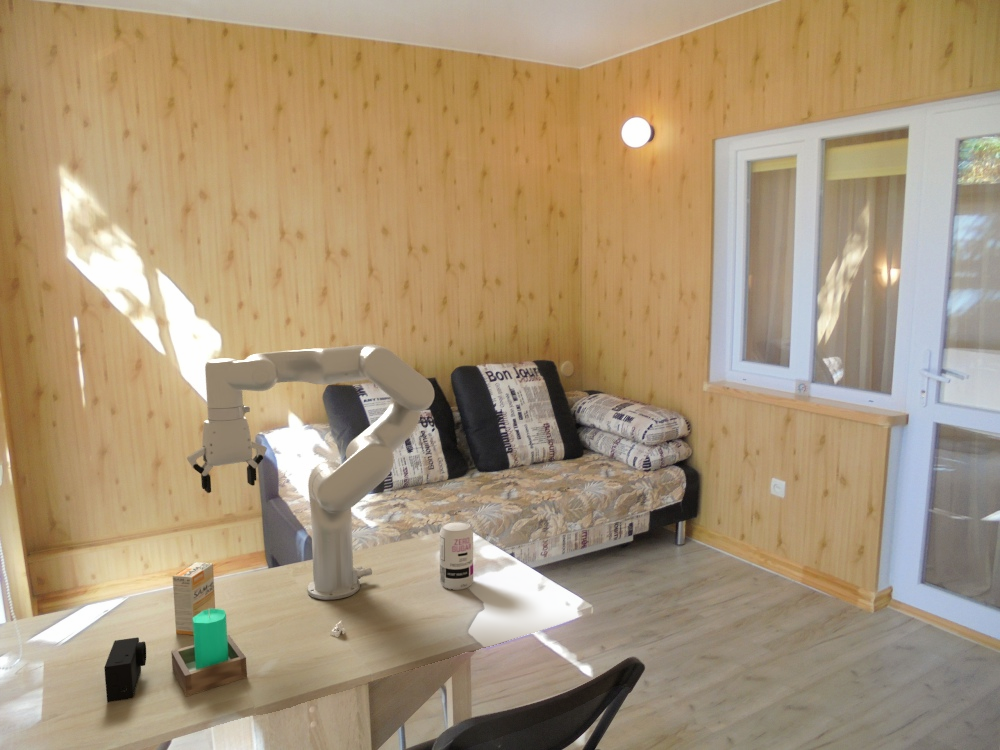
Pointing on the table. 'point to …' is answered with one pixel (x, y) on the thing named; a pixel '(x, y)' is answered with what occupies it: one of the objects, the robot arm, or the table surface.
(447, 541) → the supplement can
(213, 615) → the candle
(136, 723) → the table surface
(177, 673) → the open wooden box
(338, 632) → the white irregular piece
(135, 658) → the digital camera
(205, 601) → the supplement box
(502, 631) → the table surface
